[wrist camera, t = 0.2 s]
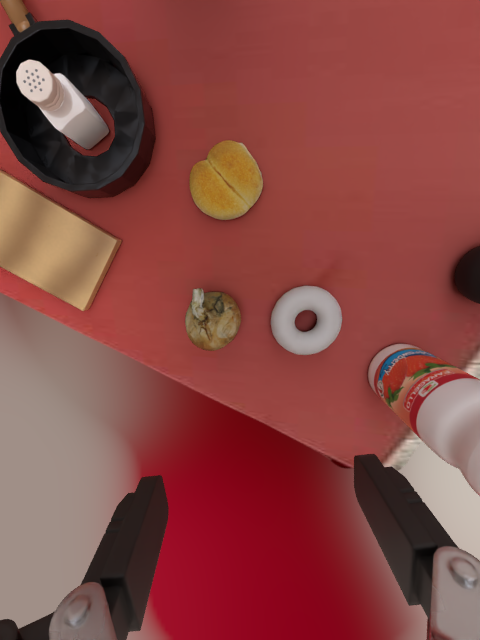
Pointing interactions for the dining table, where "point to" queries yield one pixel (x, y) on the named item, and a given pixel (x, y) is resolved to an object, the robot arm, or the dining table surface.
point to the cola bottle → (469, 275)
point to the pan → (93, 82)
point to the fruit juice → (432, 403)
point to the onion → (212, 319)
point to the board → (52, 244)
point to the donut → (293, 305)
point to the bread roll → (226, 181)
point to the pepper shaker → (61, 103)
